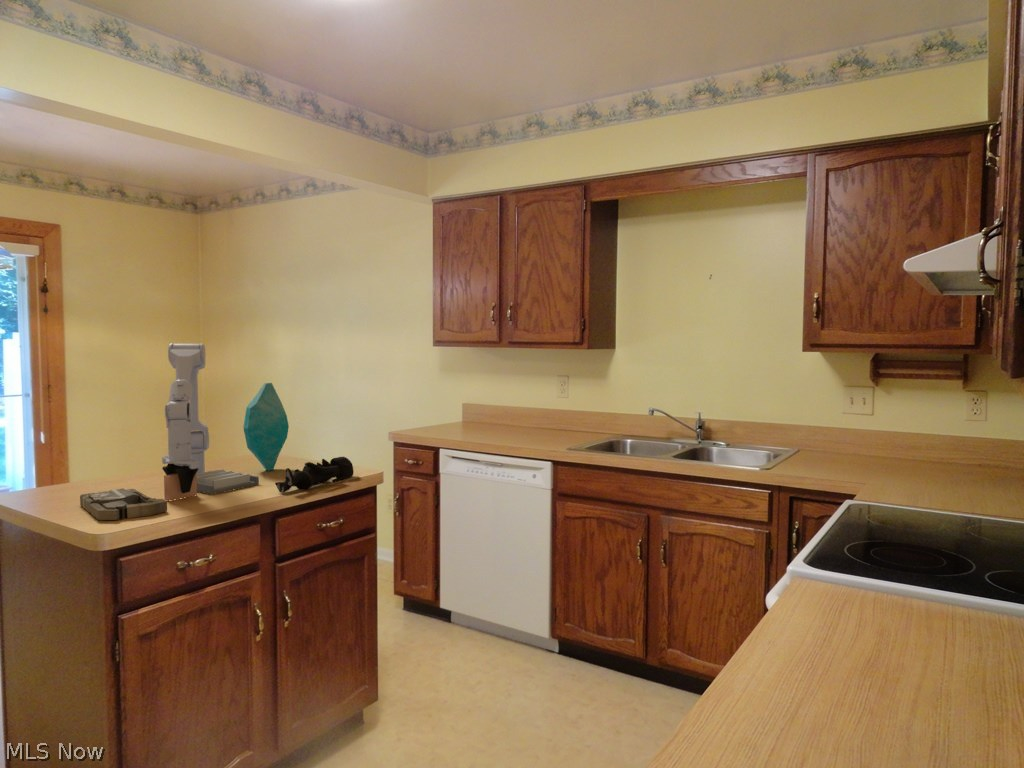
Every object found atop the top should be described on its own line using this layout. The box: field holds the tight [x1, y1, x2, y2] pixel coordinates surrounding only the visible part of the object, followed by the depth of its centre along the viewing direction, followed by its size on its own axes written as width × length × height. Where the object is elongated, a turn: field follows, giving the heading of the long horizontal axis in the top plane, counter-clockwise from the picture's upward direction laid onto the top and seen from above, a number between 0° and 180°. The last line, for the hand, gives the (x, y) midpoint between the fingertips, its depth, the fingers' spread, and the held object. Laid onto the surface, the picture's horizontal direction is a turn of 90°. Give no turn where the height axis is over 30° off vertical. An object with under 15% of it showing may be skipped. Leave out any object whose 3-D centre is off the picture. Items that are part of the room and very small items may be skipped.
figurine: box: [274, 456, 354, 494], centre depth 202 cm, size 8×30×8 cm, turn 151°
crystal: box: [242, 382, 289, 472], centre depth 222 cm, size 12×14×30 cm
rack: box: [196, 468, 260, 495], centre depth 199 cm, size 17×16×4 cm
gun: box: [79, 488, 168, 521], centre depth 171 cm, size 4×24×15 cm
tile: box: [163, 473, 198, 500], centre depth 183 cm, size 2×8×7 cm, turn 148°
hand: (180, 491), depth 183 cm, fingers open, 4 cm apart
